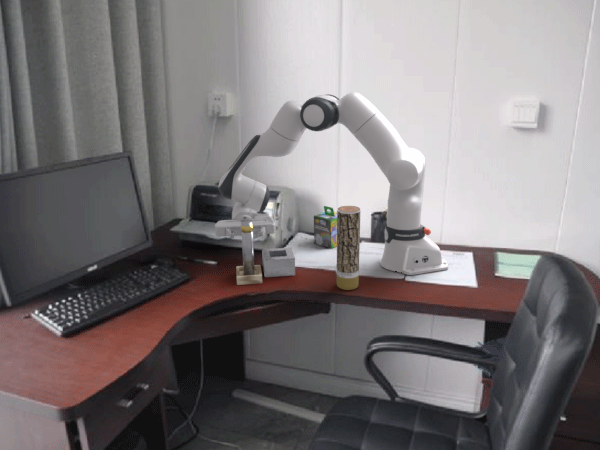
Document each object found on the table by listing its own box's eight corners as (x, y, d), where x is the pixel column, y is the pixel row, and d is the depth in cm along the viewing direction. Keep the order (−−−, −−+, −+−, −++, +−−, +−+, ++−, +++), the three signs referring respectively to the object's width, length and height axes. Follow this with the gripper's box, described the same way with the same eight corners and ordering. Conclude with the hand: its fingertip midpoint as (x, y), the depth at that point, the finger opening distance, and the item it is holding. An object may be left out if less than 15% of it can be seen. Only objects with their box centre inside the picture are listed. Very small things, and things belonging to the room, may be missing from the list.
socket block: (291, 263, 173) (291, 247, 172) (295, 275, 164) (294, 258, 162) (262, 265, 172) (262, 249, 170) (264, 277, 163) (263, 260, 161)
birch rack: (260, 272, 167) (260, 264, 166) (262, 283, 158) (262, 275, 158) (236, 273, 166) (236, 266, 165) (236, 284, 157) (236, 277, 157)
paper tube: (357, 291, 152) (359, 212, 144) (335, 290, 153) (335, 211, 145) (359, 282, 158) (361, 206, 150) (338, 281, 159) (338, 205, 152)
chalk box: (347, 243, 192) (347, 206, 188) (330, 249, 186) (330, 211, 182) (329, 237, 199) (329, 201, 194) (313, 243, 193) (312, 206, 188)
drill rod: (254, 272, 164) (252, 219, 158) (255, 276, 160) (253, 223, 155) (243, 272, 163) (240, 220, 158) (243, 277, 160) (240, 223, 154)
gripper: (214, 214, 173) (213, 227, 160) (273, 212, 176) (276, 224, 163) (215, 232, 175) (214, 245, 162) (273, 229, 178) (277, 242, 165)
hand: (246, 234), depth 163 cm, fingers open, 8 cm apart
